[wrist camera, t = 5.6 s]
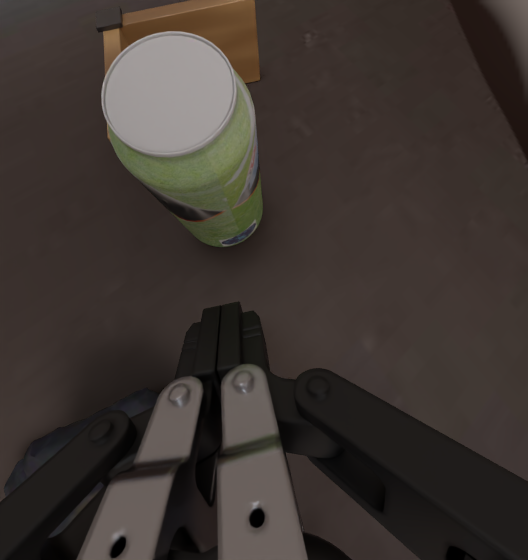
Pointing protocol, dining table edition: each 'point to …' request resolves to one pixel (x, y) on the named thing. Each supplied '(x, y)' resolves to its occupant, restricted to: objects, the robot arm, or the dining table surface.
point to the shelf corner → (189, 30)
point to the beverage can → (187, 133)
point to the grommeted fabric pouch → (61, 436)
